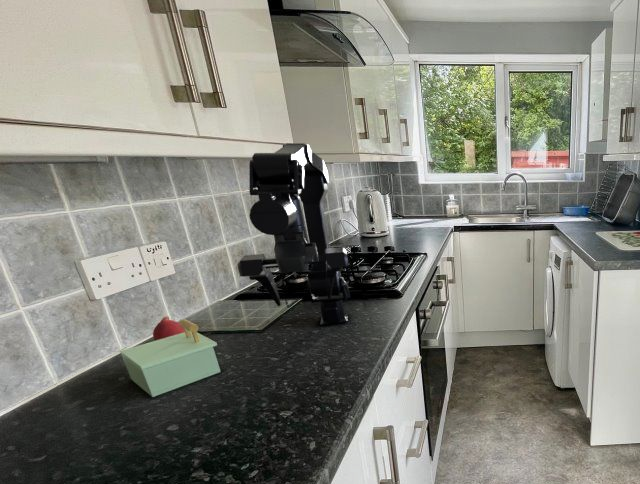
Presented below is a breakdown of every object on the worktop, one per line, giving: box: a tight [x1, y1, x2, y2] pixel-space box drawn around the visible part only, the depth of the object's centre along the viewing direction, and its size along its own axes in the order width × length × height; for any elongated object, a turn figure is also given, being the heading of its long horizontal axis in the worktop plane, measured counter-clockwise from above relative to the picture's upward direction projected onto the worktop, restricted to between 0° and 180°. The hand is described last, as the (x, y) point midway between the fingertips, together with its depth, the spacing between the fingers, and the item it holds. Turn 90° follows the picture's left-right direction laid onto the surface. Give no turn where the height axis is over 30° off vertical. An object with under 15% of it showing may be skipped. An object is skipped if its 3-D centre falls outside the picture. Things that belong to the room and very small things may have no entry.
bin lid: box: [119, 319, 218, 370], centre depth 80 cm, size 12×11×4 cm
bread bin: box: [120, 347, 221, 398], centre depth 82 cm, size 11×11×6 cm
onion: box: [152, 315, 185, 341], centre depth 93 cm, size 6×6×8 cm
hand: (304, 302), depth 83 cm, fingers open, 9 cm apart
